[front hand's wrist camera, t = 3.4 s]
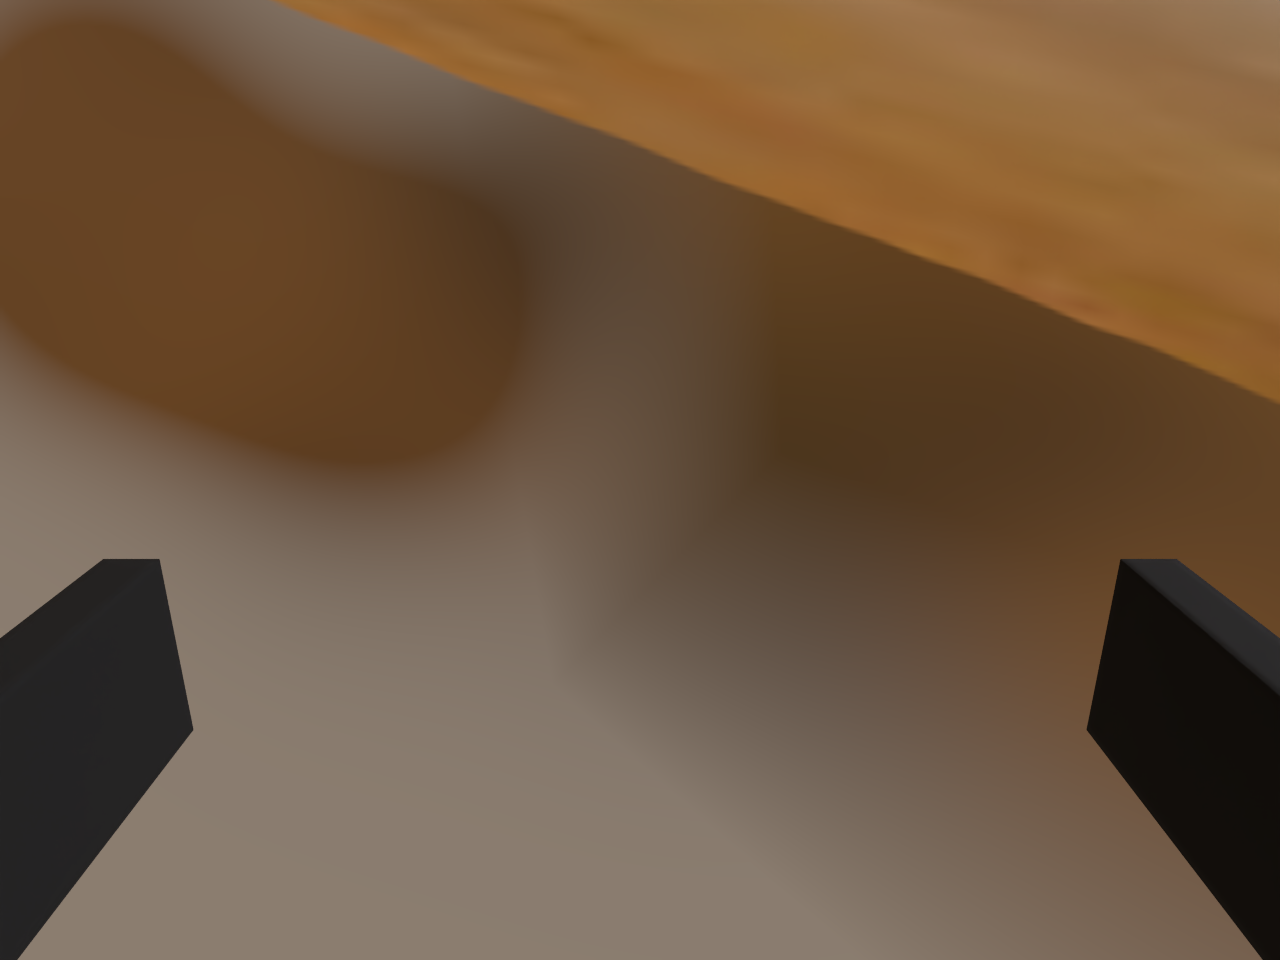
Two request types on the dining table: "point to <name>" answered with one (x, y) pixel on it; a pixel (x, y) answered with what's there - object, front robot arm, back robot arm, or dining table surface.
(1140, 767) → the front robot arm
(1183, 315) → the dining table surface
